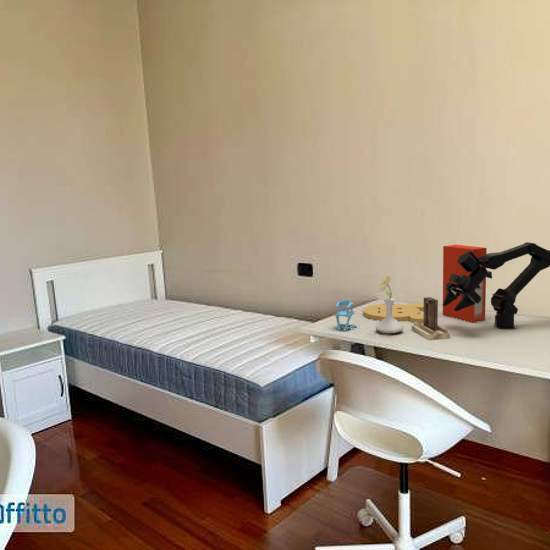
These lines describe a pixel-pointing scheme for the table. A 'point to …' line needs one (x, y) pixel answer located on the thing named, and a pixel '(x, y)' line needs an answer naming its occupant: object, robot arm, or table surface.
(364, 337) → the table surface
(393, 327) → the flower in vase
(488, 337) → the table surface
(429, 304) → the walnut photo frame
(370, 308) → the decorative plaque
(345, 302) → the chair
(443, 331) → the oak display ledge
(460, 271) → the file binder
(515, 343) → the table surface
